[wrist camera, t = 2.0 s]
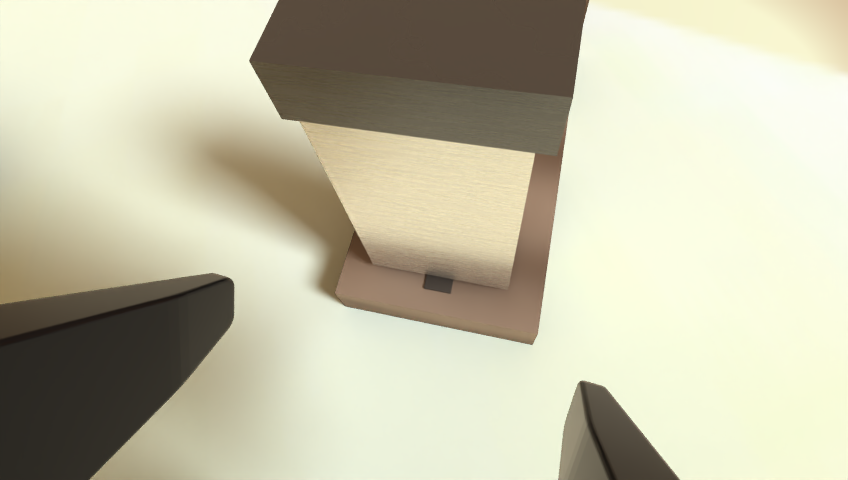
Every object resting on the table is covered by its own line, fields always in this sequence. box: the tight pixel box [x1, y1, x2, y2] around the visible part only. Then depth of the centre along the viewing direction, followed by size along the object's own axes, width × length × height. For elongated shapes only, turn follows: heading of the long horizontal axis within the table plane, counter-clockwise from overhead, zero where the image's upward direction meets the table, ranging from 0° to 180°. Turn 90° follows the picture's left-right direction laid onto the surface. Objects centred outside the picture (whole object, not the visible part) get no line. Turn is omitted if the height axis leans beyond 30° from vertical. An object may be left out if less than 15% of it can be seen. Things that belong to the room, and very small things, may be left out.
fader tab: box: [249, 0, 586, 290], centre depth 16 cm, size 3×7×12 cm, turn 77°
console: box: [335, 0, 589, 345], centre depth 24 cm, size 18×9×5 cm, turn 167°
